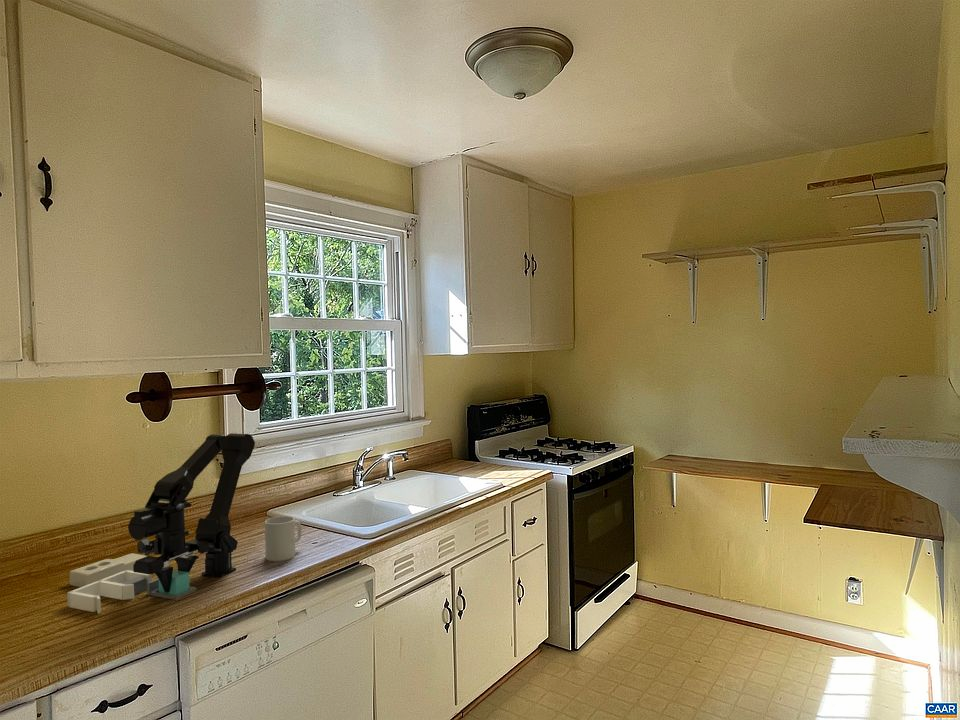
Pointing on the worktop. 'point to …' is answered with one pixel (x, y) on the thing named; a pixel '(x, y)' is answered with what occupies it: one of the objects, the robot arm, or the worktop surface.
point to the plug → (177, 583)
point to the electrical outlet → (102, 569)
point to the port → (108, 590)
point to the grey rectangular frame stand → (154, 591)
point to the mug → (281, 538)
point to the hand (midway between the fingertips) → (174, 589)
